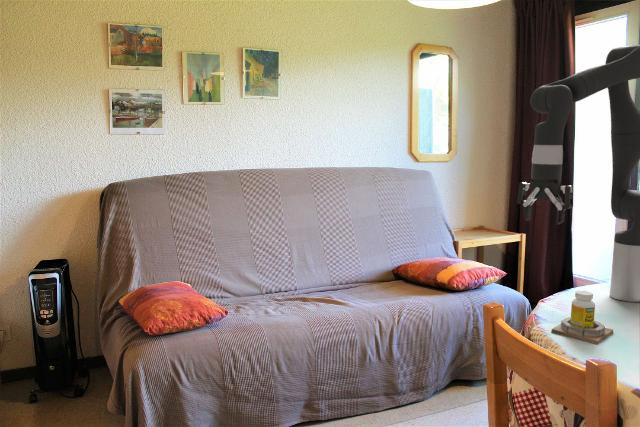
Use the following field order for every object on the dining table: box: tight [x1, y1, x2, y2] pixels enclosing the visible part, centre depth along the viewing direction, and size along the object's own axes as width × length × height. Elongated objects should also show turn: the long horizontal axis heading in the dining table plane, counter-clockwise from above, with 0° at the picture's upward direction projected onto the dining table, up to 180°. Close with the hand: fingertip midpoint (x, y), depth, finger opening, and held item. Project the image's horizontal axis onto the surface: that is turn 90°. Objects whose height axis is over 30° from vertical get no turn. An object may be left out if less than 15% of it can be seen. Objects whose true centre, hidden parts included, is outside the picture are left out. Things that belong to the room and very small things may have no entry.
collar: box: [551, 316, 614, 345], centre depth 138 cm, size 11×11×2 cm
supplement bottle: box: [570, 290, 596, 329], centre depth 137 cm, size 5×5×10 cm
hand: (543, 222), depth 148 cm, fingers open, 8 cm apart
